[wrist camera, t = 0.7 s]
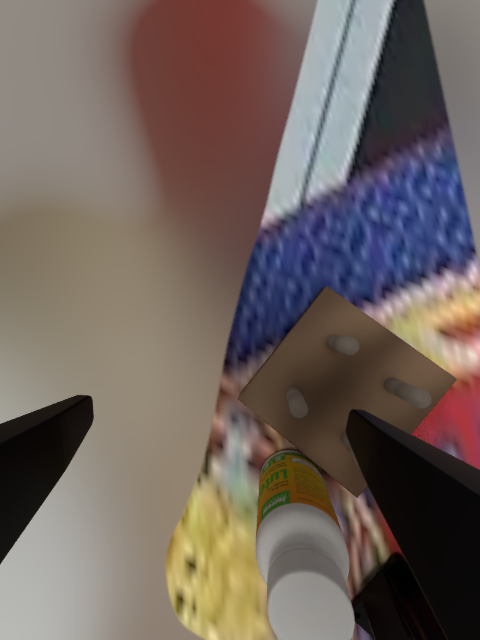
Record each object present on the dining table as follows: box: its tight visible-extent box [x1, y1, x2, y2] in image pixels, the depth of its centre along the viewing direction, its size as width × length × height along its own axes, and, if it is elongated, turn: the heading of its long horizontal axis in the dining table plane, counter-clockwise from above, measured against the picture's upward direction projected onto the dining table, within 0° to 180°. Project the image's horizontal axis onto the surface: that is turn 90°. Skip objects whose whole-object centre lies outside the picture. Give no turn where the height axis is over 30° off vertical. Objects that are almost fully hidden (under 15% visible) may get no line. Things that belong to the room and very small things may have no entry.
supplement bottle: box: [256, 450, 355, 640], centre depth 15 cm, size 5×5×10 cm
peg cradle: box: [238, 286, 457, 498], centre depth 18 cm, size 12×12×5 cm
